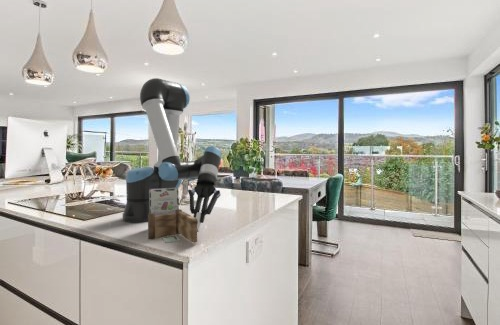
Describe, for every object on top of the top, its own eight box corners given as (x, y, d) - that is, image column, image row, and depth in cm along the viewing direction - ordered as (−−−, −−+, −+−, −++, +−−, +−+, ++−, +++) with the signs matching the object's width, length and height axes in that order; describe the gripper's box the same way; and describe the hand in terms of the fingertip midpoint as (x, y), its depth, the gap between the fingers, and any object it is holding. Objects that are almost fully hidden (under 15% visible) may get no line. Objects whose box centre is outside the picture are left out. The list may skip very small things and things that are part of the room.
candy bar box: (177, 225, 118) (177, 187, 118) (179, 228, 114) (179, 188, 113) (149, 228, 114) (148, 188, 113) (150, 231, 109) (149, 190, 109)
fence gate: (177, 232, 106) (177, 211, 106) (182, 231, 107) (182, 211, 107) (192, 243, 94) (192, 219, 94) (197, 241, 95) (197, 218, 95)
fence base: (180, 232, 109) (180, 209, 109) (182, 233, 108) (182, 210, 107) (147, 238, 101) (147, 213, 101) (149, 240, 99) (149, 214, 99)
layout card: (161, 238, 102) (161, 236, 102) (175, 236, 104) (175, 234, 104) (165, 243, 96) (165, 241, 96) (179, 240, 99) (179, 239, 99)
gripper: (224, 183, 117) (215, 235, 101) (193, 183, 118) (180, 234, 102) (222, 172, 111) (212, 225, 96) (190, 171, 112) (175, 224, 97)
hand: (196, 230), depth 99 cm, fingers closed
